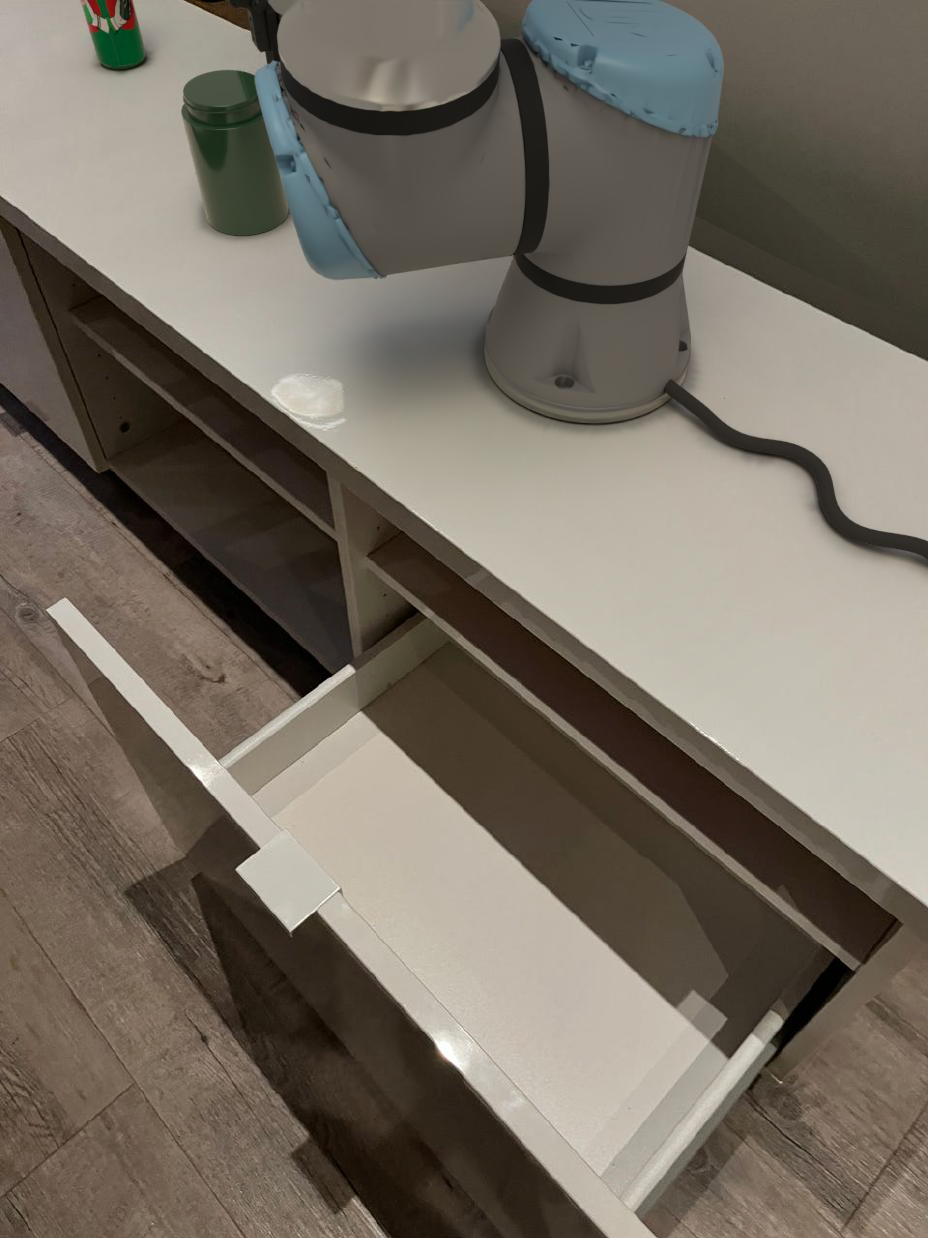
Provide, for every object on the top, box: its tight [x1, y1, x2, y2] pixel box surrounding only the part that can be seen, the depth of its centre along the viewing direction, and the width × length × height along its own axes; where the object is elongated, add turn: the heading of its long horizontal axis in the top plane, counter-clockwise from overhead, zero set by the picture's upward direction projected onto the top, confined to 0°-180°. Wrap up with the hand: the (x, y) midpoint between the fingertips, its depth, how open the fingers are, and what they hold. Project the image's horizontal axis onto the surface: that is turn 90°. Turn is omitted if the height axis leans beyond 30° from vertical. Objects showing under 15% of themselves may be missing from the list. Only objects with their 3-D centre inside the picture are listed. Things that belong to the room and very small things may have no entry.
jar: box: [180, 69, 290, 237], centre depth 77 cm, size 7×7×10 cm
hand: (321, 76), depth 84 cm, fingers closed on lid, 7 cm apart
